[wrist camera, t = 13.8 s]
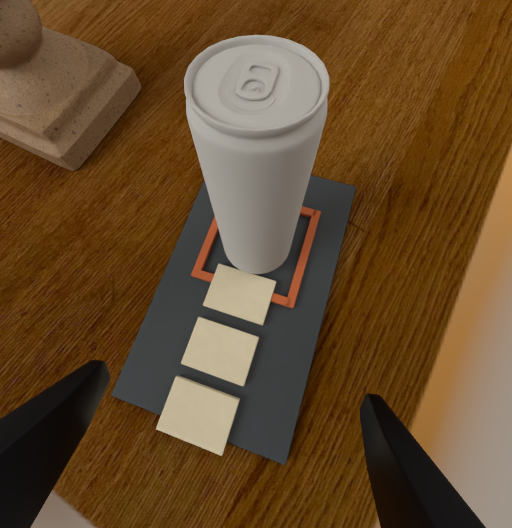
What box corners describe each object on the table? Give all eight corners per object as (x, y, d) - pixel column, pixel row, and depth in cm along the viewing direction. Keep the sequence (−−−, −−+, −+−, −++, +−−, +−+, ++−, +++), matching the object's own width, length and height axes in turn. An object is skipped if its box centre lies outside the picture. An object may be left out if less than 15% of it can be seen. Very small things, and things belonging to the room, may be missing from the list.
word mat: (282, 472, 16) (283, 481, 15) (111, 403, 17) (101, 407, 16) (354, 190, 21) (358, 182, 20) (217, 155, 23) (215, 147, 21)
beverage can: (216, 268, 18) (154, 117, 7) (235, 212, 20) (207, 23, 9) (282, 284, 18) (321, 148, 7) (295, 226, 20) (343, 43, 9)
